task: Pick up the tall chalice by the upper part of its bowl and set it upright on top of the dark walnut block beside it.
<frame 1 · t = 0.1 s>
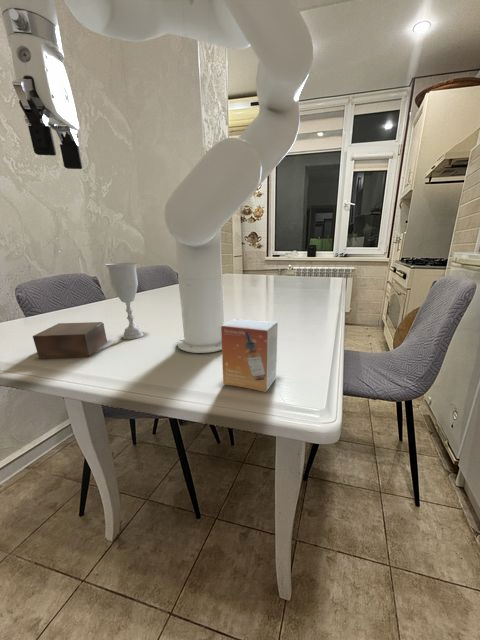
hand: (60, 162, 54), 37 cm above the table, tool pointing down, fingers open, 9 cm apart
walnut block: (75, 349, 66), on the table
chalice: (133, 336, 75), on the table
small box: (250, 382, 51), on the table
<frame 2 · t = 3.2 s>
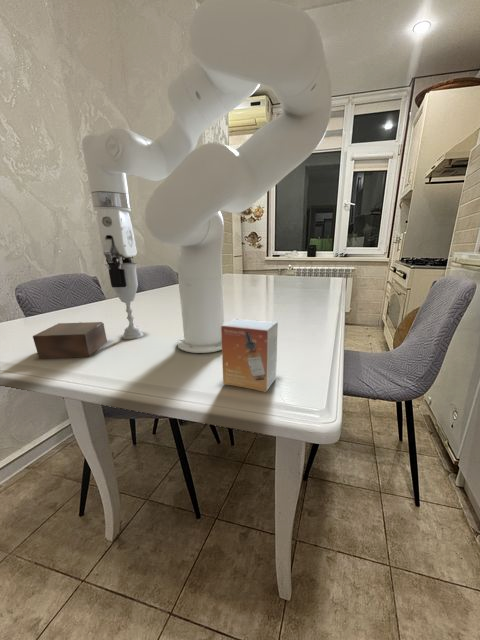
hand: (124, 284, 71), 13 cm above the table, tool pointing down, fingers closed on chalice, 7 cm apart
chalice: (133, 336, 75), on the table, touching gripper
everything else where it was.
when the fingers open (18 cm above the table, at t = 10.5 s): chalice stays where it is, resting on walnut block.
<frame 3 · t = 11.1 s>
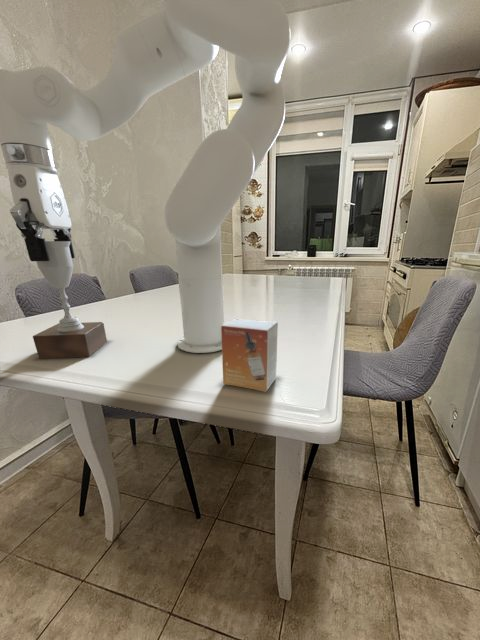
hand: (54, 259, 59), 20 cm above the table, tool pointing down, fingers open, 9 cm apart
chalice: (71, 329, 64), point 5 cm above the table, touching walnut block
everything else where it was.
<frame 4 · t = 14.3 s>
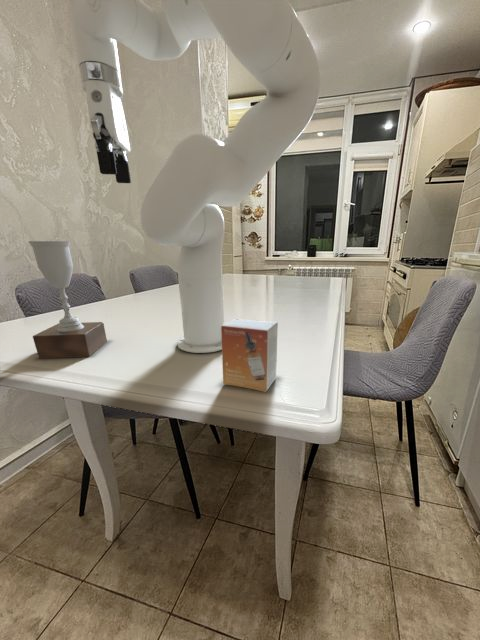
hand: (116, 178, 65), 36 cm above the table, tool pointing down, fingers open, 9 cm apart
nothing on the table moved.
at the end: chalice 0.1 cm off-centre on the walnut block, point 4.8 cm above the walnut block's base; chalice tilted 0°; the gripper is holding nothing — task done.
